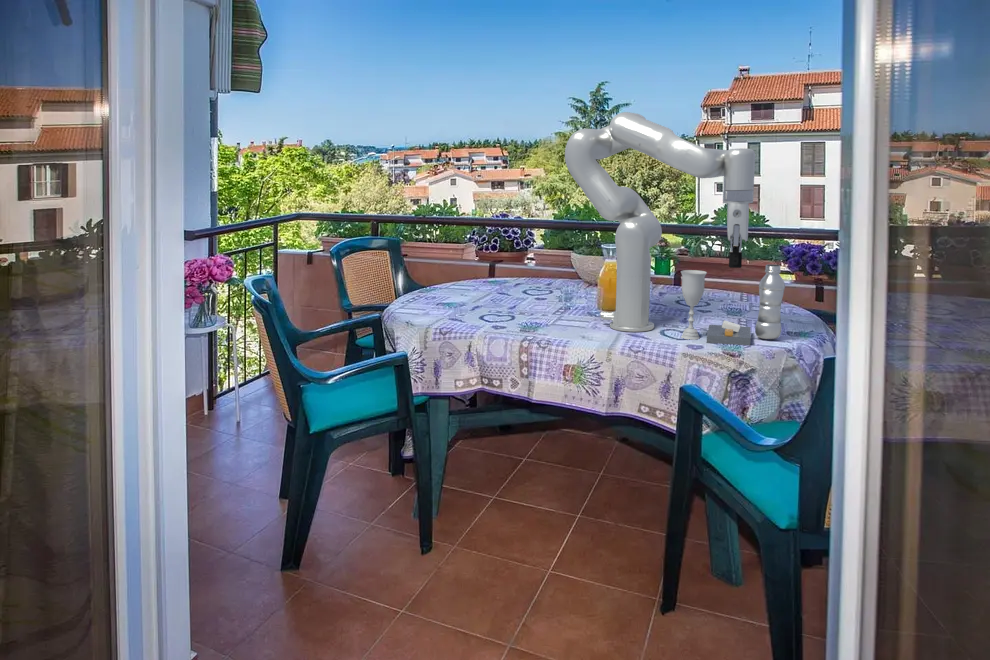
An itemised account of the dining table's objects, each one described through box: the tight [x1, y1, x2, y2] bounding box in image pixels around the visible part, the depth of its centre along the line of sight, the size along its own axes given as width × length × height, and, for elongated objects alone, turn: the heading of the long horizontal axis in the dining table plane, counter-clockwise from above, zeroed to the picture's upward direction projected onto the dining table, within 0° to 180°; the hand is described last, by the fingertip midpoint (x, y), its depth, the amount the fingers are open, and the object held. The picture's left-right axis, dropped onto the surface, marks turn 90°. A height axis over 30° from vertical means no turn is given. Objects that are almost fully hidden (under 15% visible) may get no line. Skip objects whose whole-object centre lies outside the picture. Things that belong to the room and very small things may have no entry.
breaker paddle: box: [721, 319, 740, 332], centre depth 206 cm, size 4×3×1 cm
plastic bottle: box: [754, 263, 786, 340], centre depth 203 cm, size 6×7×20 cm
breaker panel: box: [706, 321, 752, 346], centre depth 206 cm, size 11×14×3 cm
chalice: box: [680, 269, 708, 341], centre depth 206 cm, size 7×7×18 cm
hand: (735, 267), depth 202 cm, fingers closed
